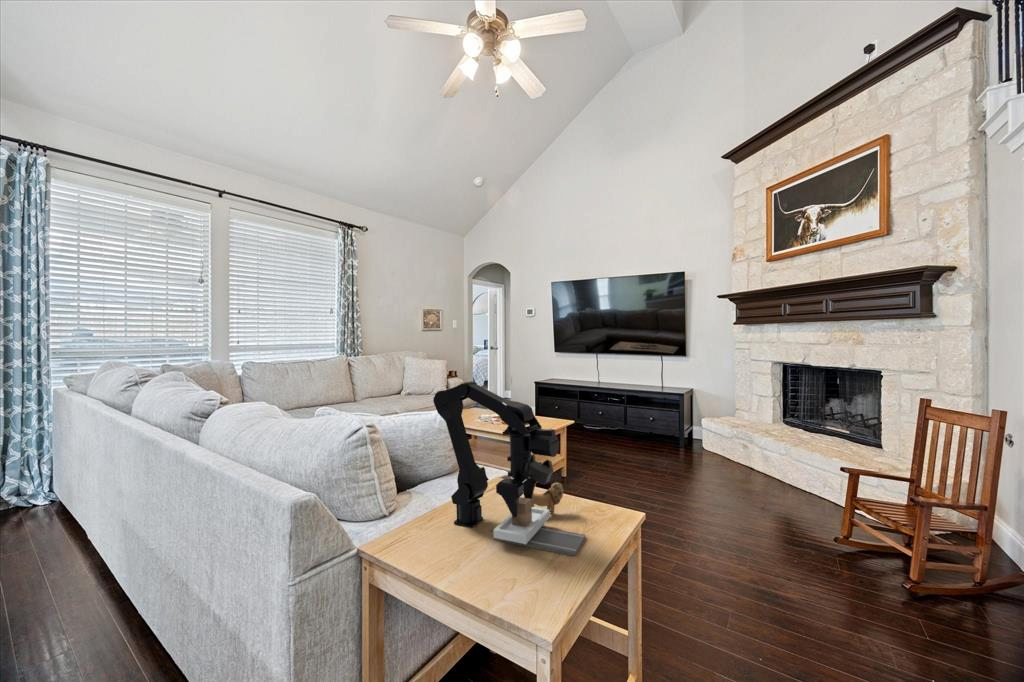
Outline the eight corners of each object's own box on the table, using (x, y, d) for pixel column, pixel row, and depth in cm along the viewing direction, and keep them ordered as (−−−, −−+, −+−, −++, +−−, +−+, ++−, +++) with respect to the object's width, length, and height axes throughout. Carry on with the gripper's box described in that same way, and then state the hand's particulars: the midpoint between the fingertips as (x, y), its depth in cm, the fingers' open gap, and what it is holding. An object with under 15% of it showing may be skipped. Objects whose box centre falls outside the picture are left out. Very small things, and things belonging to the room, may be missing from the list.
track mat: (494, 539, 108) (493, 536, 108) (510, 524, 117) (510, 521, 117) (574, 556, 99) (574, 552, 99) (585, 538, 108) (585, 534, 108)
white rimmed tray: (493, 543, 104) (493, 529, 104) (520, 517, 119) (520, 505, 119) (526, 550, 100) (526, 536, 100) (549, 522, 116) (549, 509, 116)
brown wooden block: (512, 524, 109) (511, 502, 109) (518, 518, 113) (517, 496, 113) (526, 527, 107) (525, 504, 107) (531, 521, 111) (531, 498, 111)
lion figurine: (560, 508, 127) (559, 479, 127) (567, 515, 122) (566, 485, 122) (515, 514, 123) (514, 485, 123) (520, 522, 118) (519, 491, 118)
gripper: (535, 464, 98) (537, 530, 98) (560, 446, 115) (561, 501, 115) (494, 460, 103) (495, 522, 103) (523, 443, 120) (525, 496, 120)
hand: (522, 510), depth 110 cm, fingers open, 9 cm apart
